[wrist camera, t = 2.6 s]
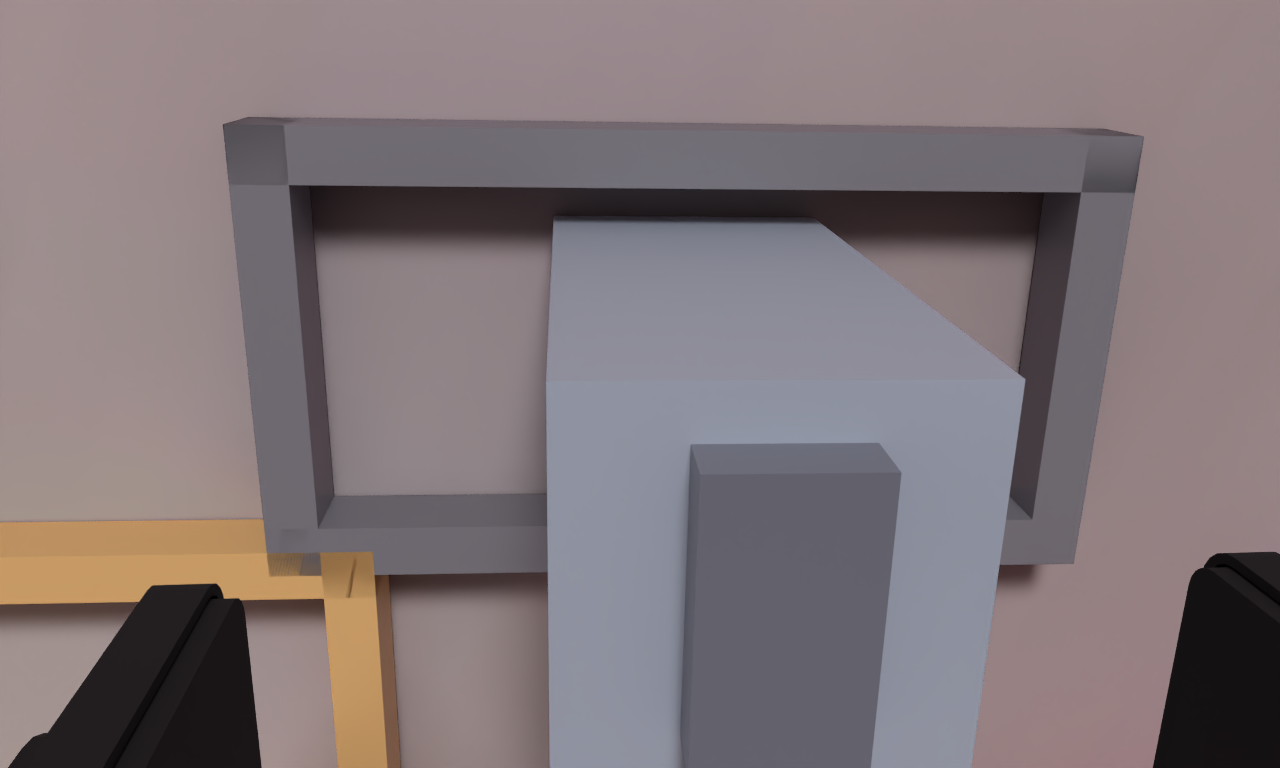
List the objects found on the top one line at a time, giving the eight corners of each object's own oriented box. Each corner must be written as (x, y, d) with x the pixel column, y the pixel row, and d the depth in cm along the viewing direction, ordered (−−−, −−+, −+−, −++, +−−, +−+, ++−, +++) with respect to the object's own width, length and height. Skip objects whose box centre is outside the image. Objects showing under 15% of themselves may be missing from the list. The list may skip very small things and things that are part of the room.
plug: (813, 217, 21) (1058, 405, 10) (796, 457, 22) (996, 824, 12) (553, 215, 20) (545, 407, 10) (555, 459, 22) (549, 839, 12)
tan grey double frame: (1104, 128, 20) (1144, 136, 19) (996, 832, 26) (1021, 879, 24) (-588, 105, 18) (-685, 112, 17) (-329, 876, 24) (-386, 931, 22)
